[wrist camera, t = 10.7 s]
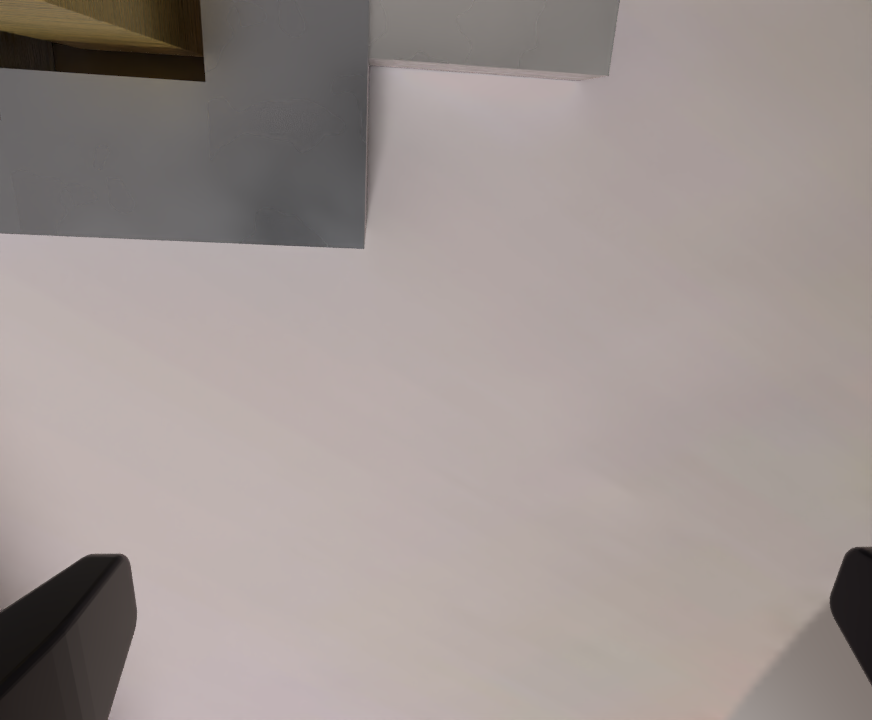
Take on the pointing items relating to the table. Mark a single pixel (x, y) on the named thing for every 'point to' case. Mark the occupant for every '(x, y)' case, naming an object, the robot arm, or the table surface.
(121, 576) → the robot arm
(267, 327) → the table surface
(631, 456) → the table surface
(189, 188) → the bracket
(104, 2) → the gold square pillar
